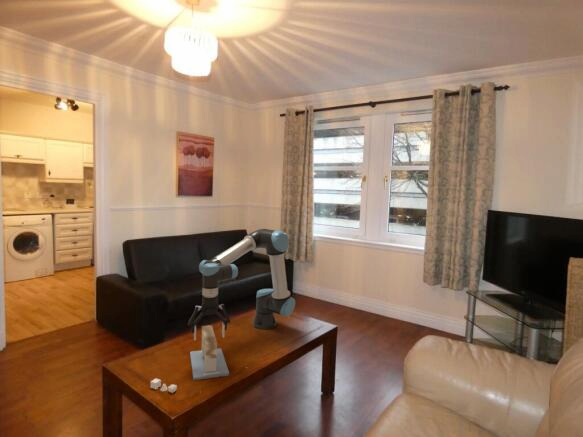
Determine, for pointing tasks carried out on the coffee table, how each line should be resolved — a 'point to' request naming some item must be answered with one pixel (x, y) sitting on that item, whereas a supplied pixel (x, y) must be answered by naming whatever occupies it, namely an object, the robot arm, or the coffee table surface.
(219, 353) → the blueprint board
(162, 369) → the coffee table surface
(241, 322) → the coffee table surface
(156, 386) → the game pieces
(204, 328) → the maple beam
